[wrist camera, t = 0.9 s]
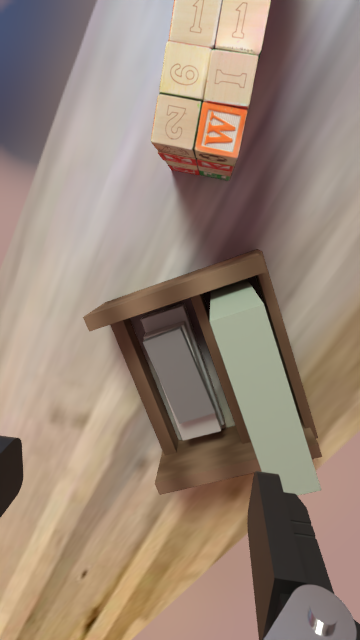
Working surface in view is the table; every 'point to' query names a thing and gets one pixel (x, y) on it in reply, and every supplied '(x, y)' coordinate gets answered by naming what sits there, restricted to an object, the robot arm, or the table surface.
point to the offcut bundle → (182, 371)
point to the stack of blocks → (208, 83)
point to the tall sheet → (261, 386)
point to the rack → (234, 442)
